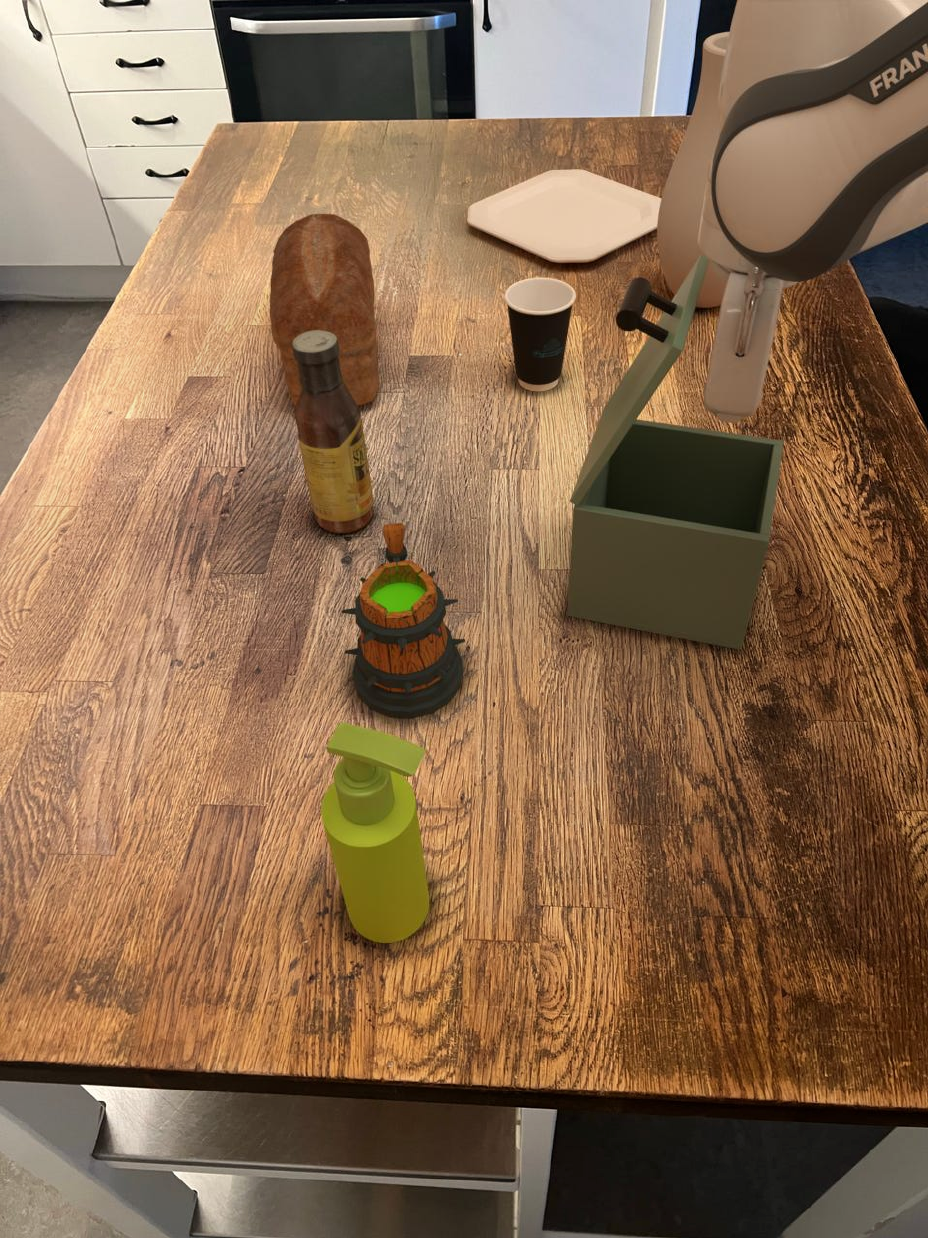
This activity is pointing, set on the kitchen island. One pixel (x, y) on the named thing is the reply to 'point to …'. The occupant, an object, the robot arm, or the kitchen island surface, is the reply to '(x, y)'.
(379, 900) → the soap dispenser
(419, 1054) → the kitchen island surface
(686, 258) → the vase
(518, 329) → the dixie cup
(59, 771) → the kitchen island surface
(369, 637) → the mug
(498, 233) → the plate
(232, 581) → the kitchen island surface
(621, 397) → the bin lid
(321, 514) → the sauce bottle
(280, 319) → the bread
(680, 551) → the bin
